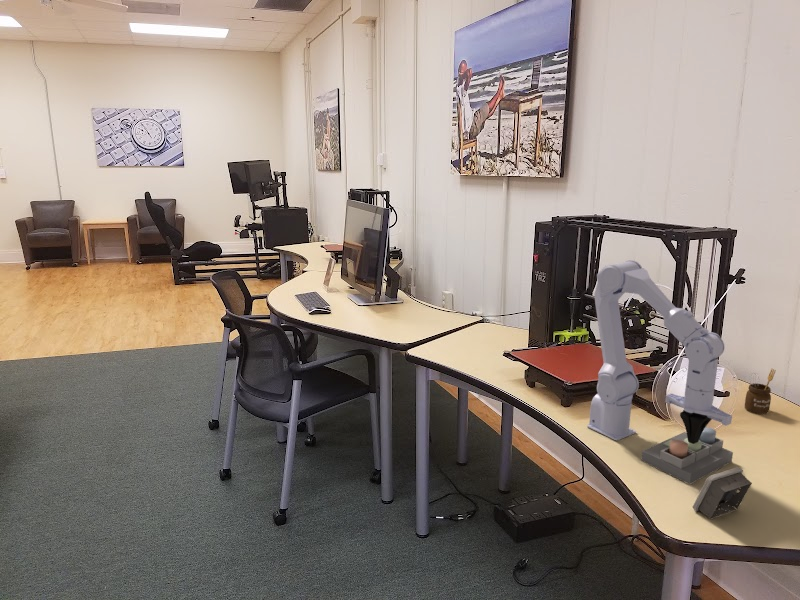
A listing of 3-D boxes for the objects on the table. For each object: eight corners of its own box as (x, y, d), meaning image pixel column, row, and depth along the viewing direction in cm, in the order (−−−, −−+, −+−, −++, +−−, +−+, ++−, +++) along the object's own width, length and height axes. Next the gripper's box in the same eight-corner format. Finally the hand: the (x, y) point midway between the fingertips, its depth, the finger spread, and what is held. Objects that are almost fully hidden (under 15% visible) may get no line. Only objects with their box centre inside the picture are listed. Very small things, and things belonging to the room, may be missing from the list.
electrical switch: (723, 499, 122) (733, 461, 119) (745, 514, 118) (756, 476, 115) (690, 510, 119) (699, 471, 116) (712, 527, 114) (722, 487, 111)
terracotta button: (665, 452, 133) (667, 442, 132) (675, 447, 134) (676, 438, 134) (680, 458, 130) (681, 449, 129) (690, 454, 132) (691, 444, 131)
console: (641, 460, 137) (643, 443, 136) (683, 441, 146) (685, 424, 145) (689, 484, 128) (691, 465, 126) (731, 461, 136) (734, 444, 135)
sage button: (679, 449, 136) (681, 440, 135) (689, 445, 138) (690, 436, 137) (694, 456, 133) (696, 446, 132) (703, 452, 135) (705, 442, 134)
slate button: (694, 438, 138) (695, 429, 138) (703, 434, 140) (704, 425, 140) (709, 444, 136) (710, 435, 135) (718, 440, 137) (719, 431, 137)
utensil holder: (739, 406, 165) (744, 366, 162) (760, 405, 166) (766, 365, 163) (752, 415, 160) (759, 374, 157) (775, 414, 160) (781, 373, 157)
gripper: (659, 380, 135) (654, 434, 139) (722, 402, 123) (714, 460, 127) (678, 373, 139) (671, 426, 142) (740, 394, 127) (732, 451, 130)
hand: (693, 441), depth 135 cm, fingers closed, pressing on sage button
